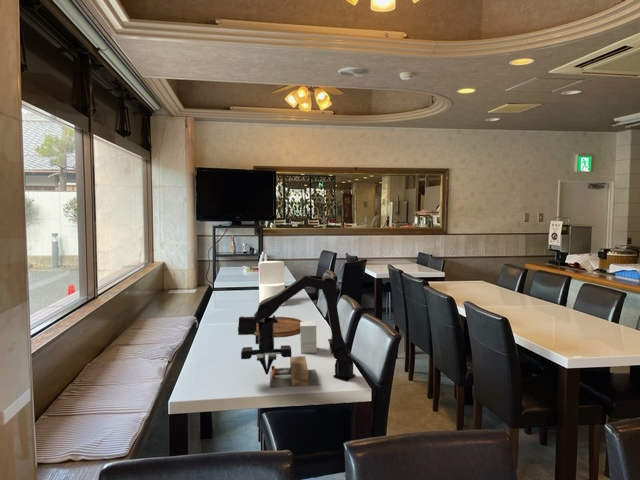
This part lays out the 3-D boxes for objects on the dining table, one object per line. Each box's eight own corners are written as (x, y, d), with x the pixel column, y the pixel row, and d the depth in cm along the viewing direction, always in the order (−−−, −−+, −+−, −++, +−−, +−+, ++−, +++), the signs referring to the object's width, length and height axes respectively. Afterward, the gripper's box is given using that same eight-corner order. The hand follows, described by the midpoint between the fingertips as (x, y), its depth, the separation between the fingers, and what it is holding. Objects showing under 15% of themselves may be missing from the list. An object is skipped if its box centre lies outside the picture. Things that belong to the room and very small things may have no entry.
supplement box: (316, 347, 196) (316, 321, 195) (316, 353, 189) (316, 325, 188) (300, 347, 196) (300, 321, 195) (300, 353, 188) (300, 325, 187)
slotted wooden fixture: (315, 370, 169) (314, 355, 169) (318, 385, 155) (318, 369, 155) (270, 372, 167) (269, 357, 167) (269, 387, 153) (269, 371, 153)
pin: (298, 374, 164) (297, 362, 163) (298, 379, 159) (298, 367, 159) (271, 375, 162) (271, 363, 162) (271, 380, 158) (271, 368, 157)
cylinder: (256, 302, 286) (255, 261, 284) (280, 299, 293) (279, 260, 291) (263, 308, 271) (263, 265, 268) (289, 305, 278) (288, 263, 275)
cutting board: (292, 341, 207) (292, 335, 207) (235, 334, 217) (235, 329, 217) (314, 323, 237) (314, 319, 237) (263, 318, 247) (263, 314, 247)
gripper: (290, 326, 167) (290, 364, 169) (242, 328, 165) (243, 367, 167) (291, 335, 156) (291, 375, 158) (240, 337, 154) (241, 378, 156)
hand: (266, 373), depth 160 cm, fingers closed
